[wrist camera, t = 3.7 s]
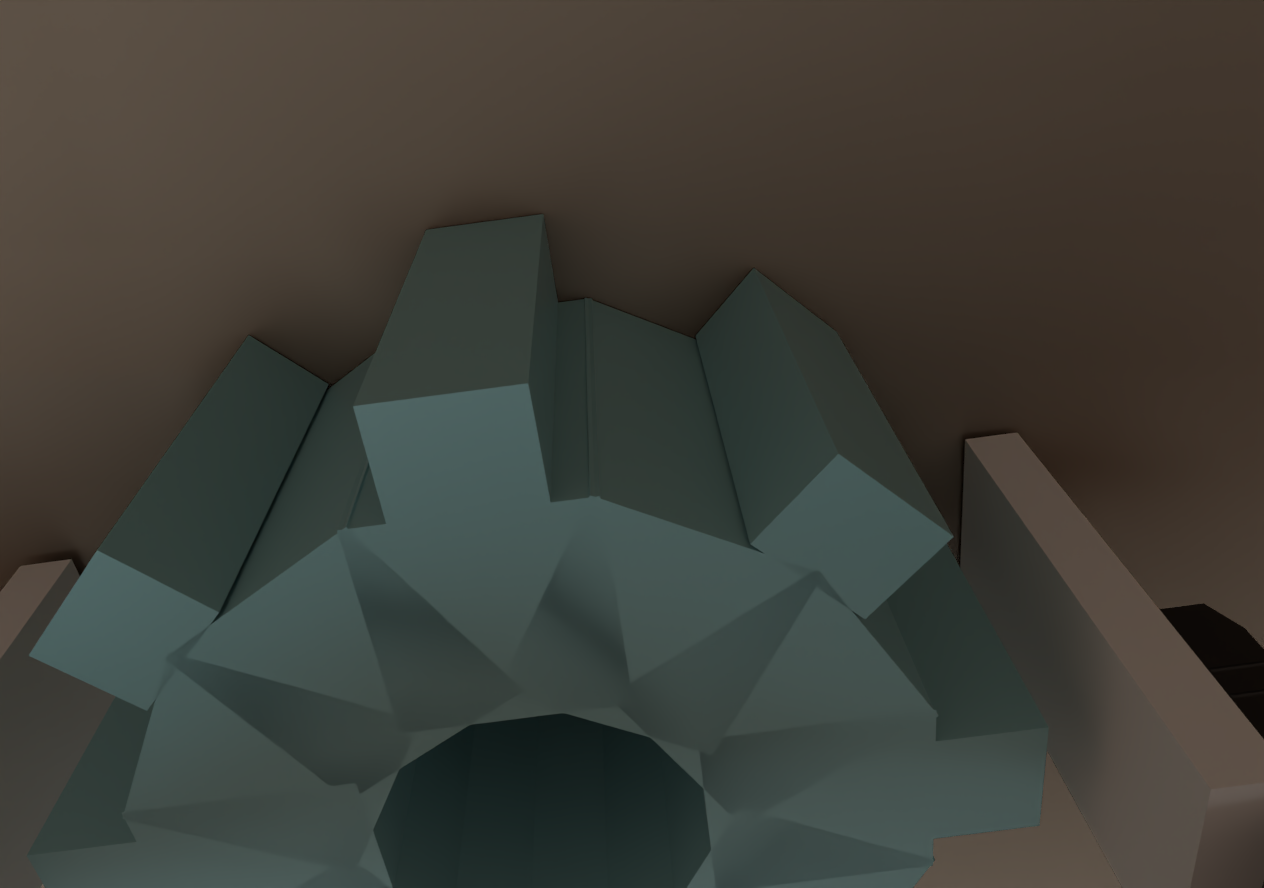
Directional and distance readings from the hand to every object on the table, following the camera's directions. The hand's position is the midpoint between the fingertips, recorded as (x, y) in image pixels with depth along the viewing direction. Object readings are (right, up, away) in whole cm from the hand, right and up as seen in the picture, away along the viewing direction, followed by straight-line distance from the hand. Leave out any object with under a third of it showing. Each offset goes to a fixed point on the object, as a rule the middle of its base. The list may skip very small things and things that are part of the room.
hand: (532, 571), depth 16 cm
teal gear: (0, 0, 0) cm, 0 cm away
